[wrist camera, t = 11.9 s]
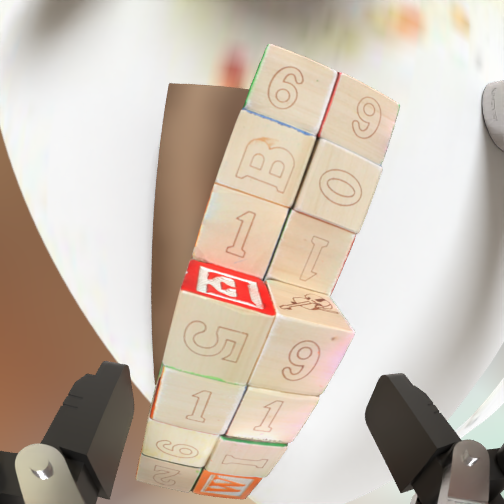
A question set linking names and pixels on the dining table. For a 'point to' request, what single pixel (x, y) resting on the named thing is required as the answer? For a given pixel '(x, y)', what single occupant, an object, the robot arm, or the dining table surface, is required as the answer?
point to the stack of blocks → (266, 279)
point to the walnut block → (185, 189)
